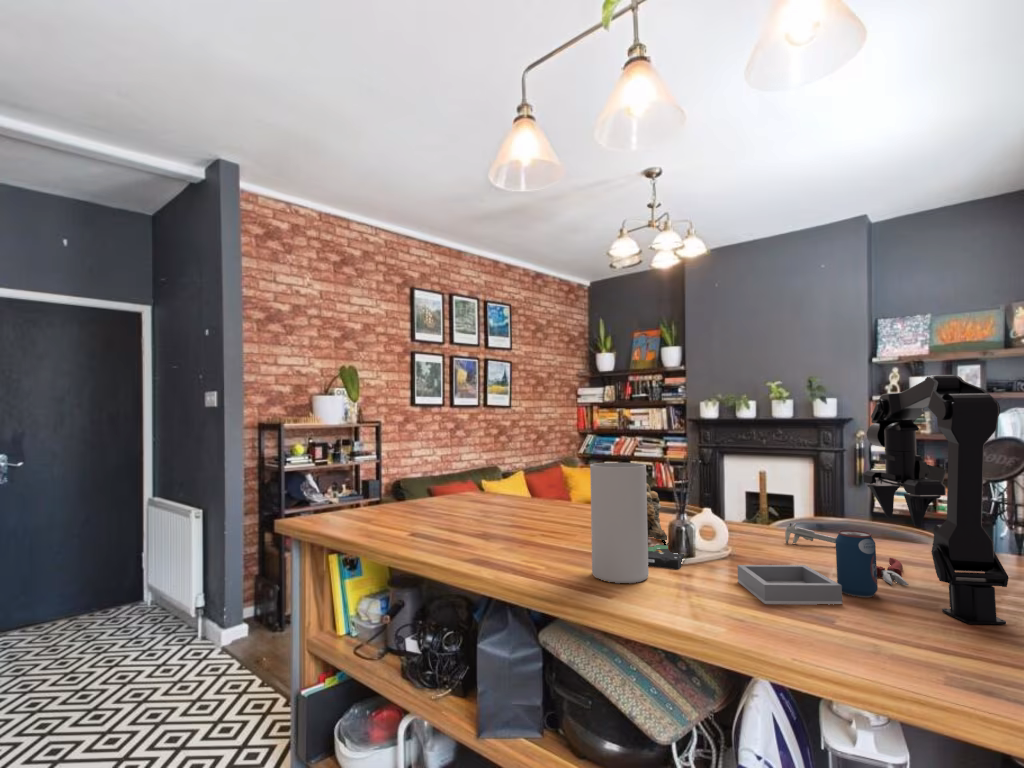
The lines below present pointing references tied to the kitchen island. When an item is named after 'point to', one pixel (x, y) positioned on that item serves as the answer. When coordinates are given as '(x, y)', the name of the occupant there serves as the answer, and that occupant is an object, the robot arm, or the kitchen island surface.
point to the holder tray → (789, 584)
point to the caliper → (805, 534)
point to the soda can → (856, 563)
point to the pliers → (892, 572)
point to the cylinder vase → (619, 522)
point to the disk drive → (664, 557)
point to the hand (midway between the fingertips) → (902, 521)
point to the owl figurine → (654, 516)
